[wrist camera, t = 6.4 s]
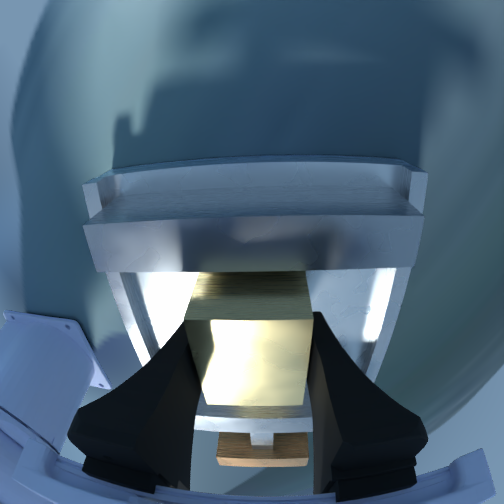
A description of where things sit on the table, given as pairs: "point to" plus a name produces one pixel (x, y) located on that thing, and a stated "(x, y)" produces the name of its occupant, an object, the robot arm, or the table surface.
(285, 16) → the table surface
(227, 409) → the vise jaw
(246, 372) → the brass block
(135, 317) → the vise bed
